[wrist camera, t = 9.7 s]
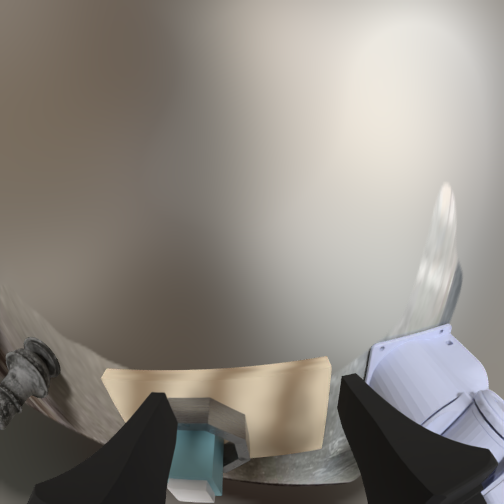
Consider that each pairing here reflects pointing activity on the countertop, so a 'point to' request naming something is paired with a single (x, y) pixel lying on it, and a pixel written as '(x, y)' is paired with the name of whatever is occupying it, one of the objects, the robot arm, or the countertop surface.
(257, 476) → the countertop surface
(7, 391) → the salt shaker
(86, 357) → the countertop surface
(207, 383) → the holder dock
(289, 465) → the countertop surface
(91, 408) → the countertop surface
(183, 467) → the connector
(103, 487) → the robot arm
